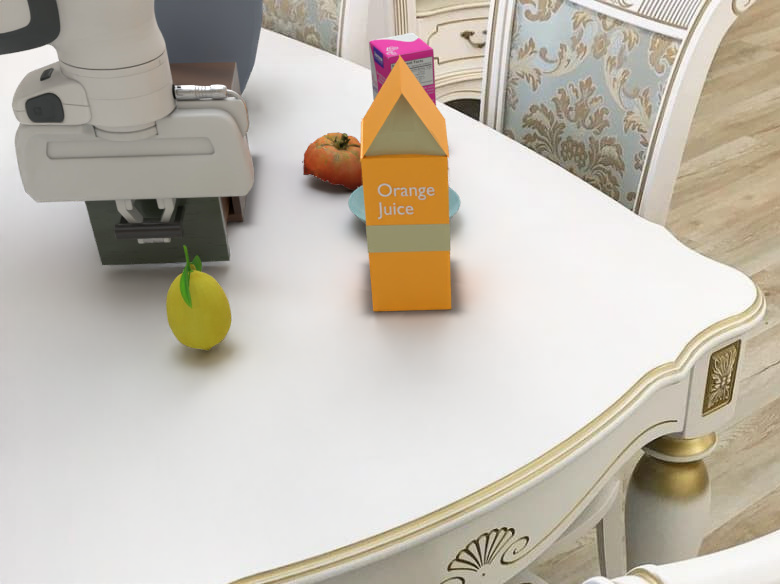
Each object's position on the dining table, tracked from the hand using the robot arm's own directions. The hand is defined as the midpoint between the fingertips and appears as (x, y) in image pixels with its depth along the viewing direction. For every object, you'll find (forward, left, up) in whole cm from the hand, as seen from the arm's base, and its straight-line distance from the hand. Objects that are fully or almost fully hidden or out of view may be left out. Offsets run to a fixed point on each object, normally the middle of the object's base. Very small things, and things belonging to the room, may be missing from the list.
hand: (155, 240), depth 105 cm
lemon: (+5, -12, -5) cm, 14 cm away
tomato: (+17, +23, -5) cm, 29 cm away
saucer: (+24, +12, -5) cm, 27 cm away
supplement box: (+25, +31, -5) cm, 40 cm away
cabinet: (0, +21, -5) cm, 21 cm away
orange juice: (+24, -2, -5) cm, 25 cm away
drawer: (0, +7, -4) cm, 8 cm away
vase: (0, +45, -5) cm, 45 cm away
